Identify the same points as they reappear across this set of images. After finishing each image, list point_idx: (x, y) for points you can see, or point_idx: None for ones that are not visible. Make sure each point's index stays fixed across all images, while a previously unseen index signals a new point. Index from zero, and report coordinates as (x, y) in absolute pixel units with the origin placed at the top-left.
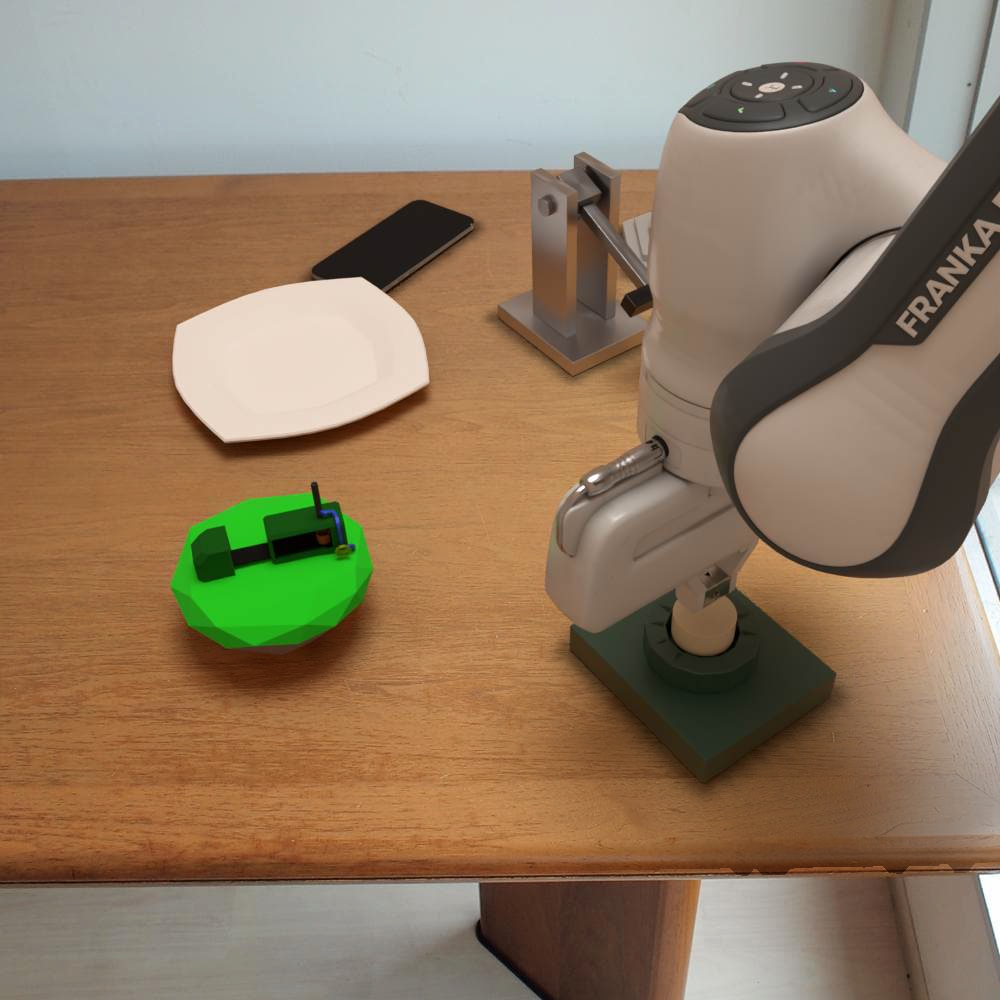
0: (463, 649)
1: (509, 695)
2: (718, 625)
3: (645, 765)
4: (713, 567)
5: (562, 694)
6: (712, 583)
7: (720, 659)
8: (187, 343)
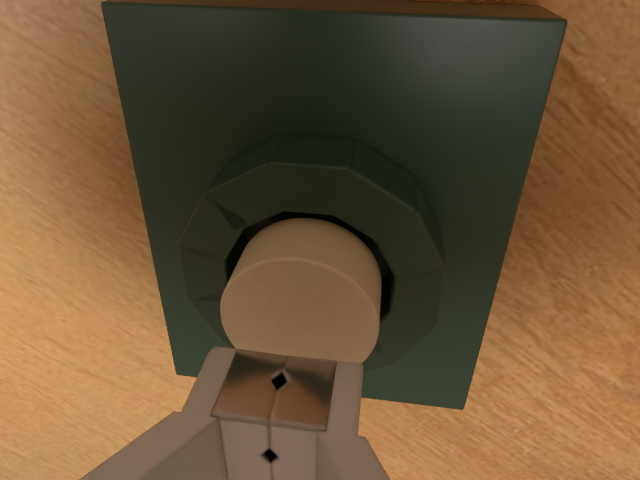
0: (571, 444)
1: (603, 364)
2: (300, 284)
3: (580, 125)
4: (236, 456)
5: (541, 317)
6: (284, 432)
7: (340, 208)
8: None
